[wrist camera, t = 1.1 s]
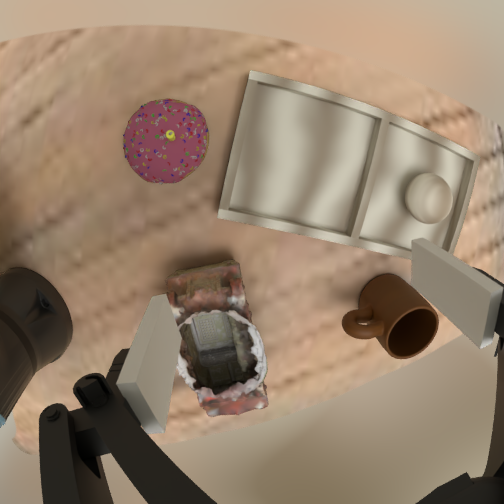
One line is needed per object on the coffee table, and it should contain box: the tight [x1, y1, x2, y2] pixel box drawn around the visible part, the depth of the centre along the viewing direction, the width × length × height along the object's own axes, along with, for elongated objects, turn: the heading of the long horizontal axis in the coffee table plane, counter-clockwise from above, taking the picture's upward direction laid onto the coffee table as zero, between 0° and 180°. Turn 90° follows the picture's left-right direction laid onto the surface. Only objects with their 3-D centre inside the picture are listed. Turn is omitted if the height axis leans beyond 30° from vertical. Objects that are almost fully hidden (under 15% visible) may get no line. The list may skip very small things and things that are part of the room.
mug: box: [342, 274, 439, 359], centre depth 37 cm, size 12×8×9 cm, turn 86°
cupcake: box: [123, 99, 209, 184], centre depth 27 cm, size 9×8×12 cm
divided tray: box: [217, 70, 480, 260], centre depth 34 cm, size 31×16×2 cm, turn 77°
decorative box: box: [164, 260, 268, 417], centre depth 36 cm, size 13×20×10 cm, turn 3°
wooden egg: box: [405, 173, 453, 224], centre depth 33 cm, size 6×6×6 cm
